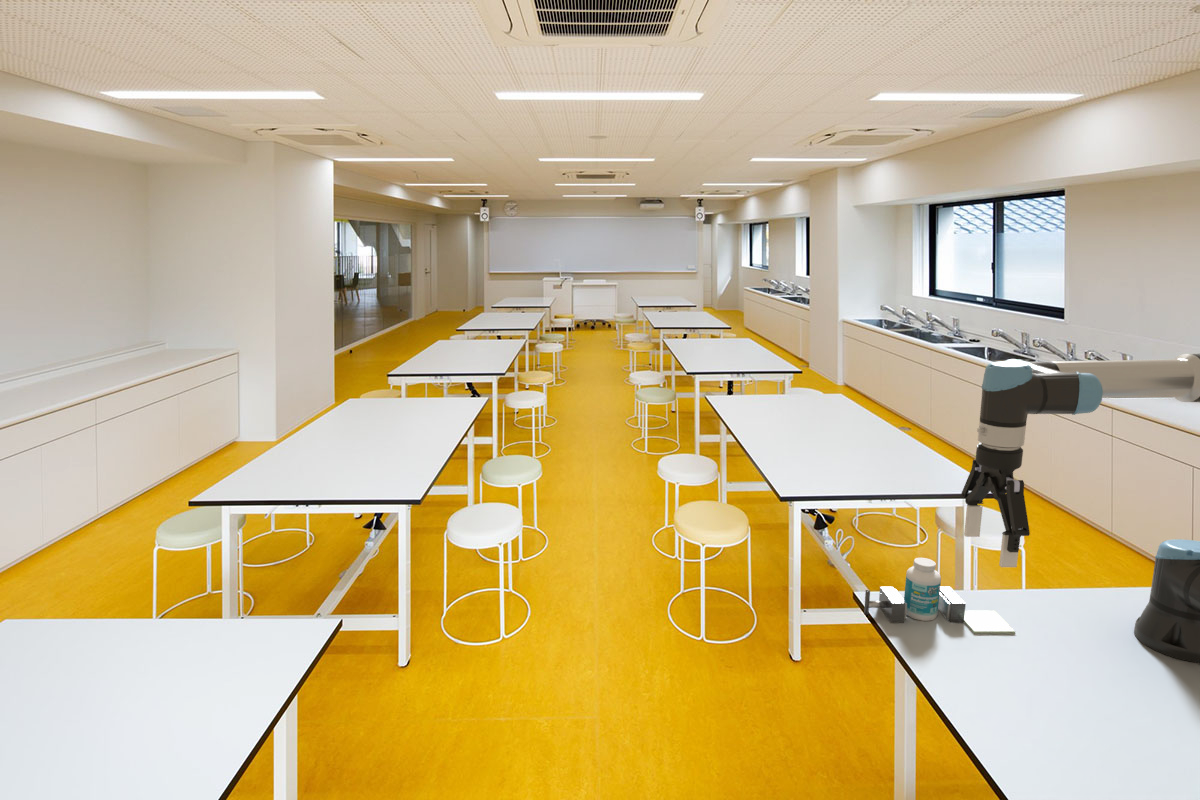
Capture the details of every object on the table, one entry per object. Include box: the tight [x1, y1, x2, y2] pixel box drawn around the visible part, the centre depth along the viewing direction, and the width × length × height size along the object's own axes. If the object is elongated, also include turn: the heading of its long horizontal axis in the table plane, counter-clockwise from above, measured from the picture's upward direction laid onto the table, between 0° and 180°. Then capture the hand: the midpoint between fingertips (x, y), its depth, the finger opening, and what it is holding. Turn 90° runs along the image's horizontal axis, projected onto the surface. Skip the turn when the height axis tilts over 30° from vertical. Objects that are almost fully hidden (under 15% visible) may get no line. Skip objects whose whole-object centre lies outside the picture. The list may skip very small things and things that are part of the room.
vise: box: [863, 586, 966, 624], centre depth 162 cm, size 21×8×7 cm, turn 87°
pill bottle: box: [903, 557, 942, 622], centre depth 161 cm, size 8×7×14 cm
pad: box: [963, 610, 1016, 635], centre depth 158 cm, size 9×9×1 cm
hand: (988, 550), depth 132 cm, fingers open, 13 cm apart
